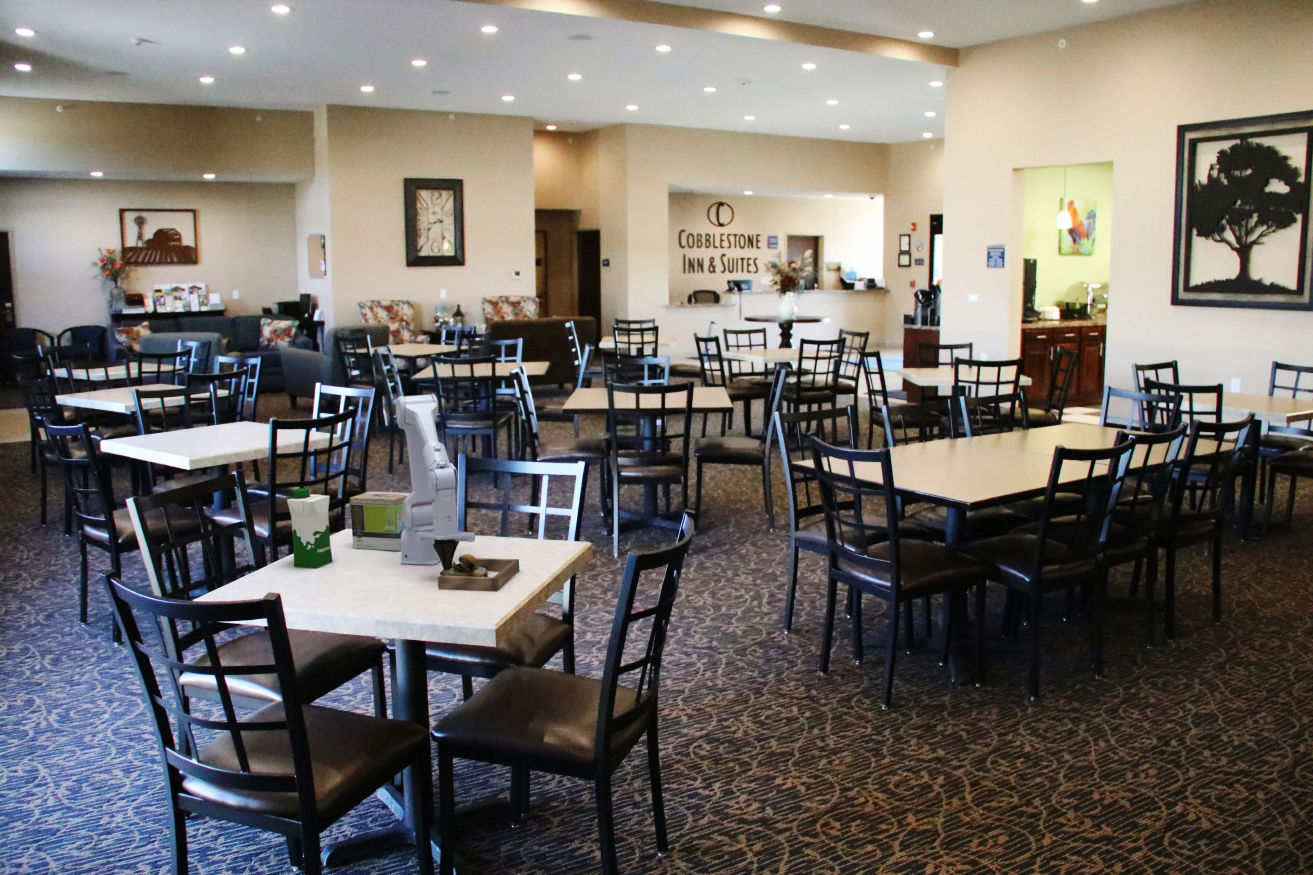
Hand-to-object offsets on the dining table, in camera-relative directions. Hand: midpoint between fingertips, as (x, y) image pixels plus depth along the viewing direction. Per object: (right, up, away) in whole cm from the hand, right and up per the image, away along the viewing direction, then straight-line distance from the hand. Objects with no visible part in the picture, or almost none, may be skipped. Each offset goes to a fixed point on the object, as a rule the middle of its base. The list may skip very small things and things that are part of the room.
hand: (447, 569), depth 257 cm
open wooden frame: (+8, -2, -1) cm, 8 cm away
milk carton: (-39, -1, +16) cm, 42 cm away
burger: (+4, -3, +1) cm, 5 cm away
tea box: (-24, +2, +34) cm, 42 cm away
